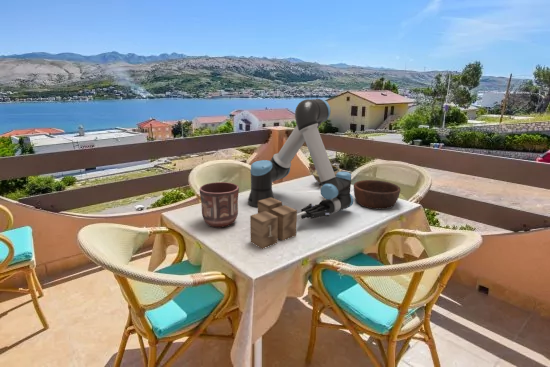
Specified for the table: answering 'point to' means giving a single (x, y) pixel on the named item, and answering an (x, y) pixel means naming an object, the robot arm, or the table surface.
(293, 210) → the brown wooden block
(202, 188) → the pottery
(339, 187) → the robot arm
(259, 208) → the walnut block marked 2
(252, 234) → the walnut block marked 1
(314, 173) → the ceramic bowl
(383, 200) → the wooden bowl
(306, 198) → the table surface
